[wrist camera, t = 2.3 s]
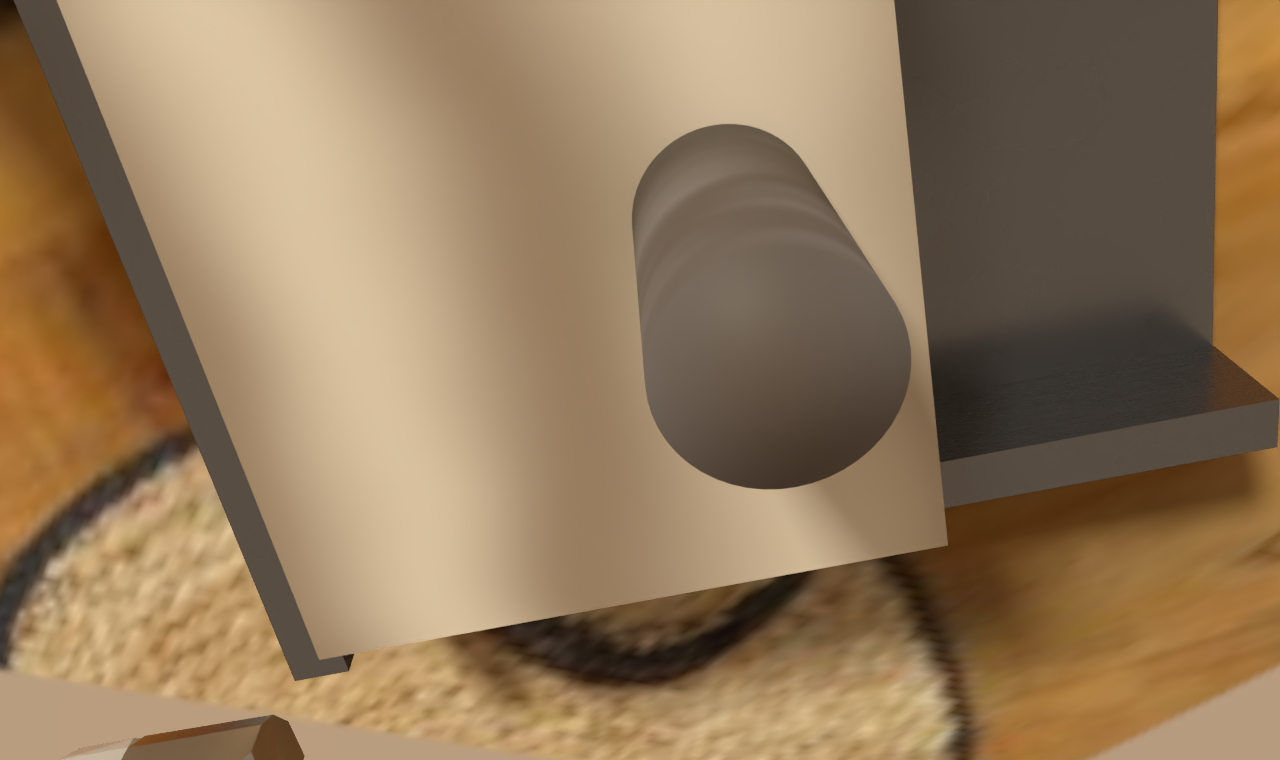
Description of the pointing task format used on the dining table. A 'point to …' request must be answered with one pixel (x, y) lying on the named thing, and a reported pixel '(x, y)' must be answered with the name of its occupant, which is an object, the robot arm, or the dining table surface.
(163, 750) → the robot arm
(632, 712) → the dining table surface
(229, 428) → the beige knobbed block
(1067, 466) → the bay
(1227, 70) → the dining table surface
